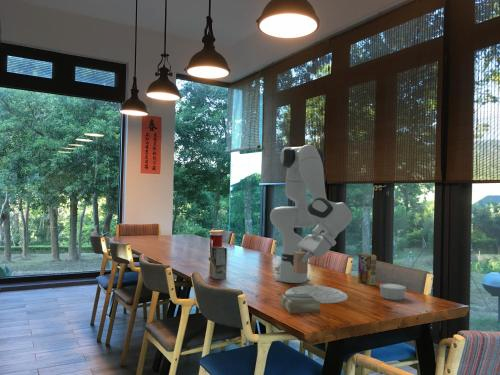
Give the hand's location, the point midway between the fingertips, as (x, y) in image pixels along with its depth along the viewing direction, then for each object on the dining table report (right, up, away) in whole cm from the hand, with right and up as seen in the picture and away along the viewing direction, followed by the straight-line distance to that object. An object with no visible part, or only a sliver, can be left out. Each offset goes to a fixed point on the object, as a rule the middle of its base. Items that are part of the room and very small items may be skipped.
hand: (299, 260), depth 159 cm
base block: (0, -19, 0) cm, 19 cm away
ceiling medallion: (+10, -20, +22) cm, 32 cm away
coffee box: (-37, -19, +54) cm, 68 cm away
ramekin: (+45, -21, +20) cm, 53 cm away
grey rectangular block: (0, -5, 0) cm, 5 cm away
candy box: (+41, -21, +48) cm, 67 cm away
